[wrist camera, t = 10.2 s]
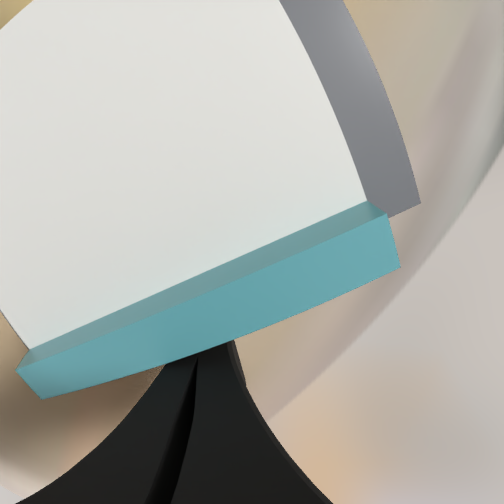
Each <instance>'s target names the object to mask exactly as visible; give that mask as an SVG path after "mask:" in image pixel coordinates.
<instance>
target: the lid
mask: <svg viewBox="0 0 504 504" xmlns="http://www.w3.org/2000/svg"><path fill="white" fill-rule="evenodd" d="M398 268H400V262H399V258H398V254H397V250H396V246H395V242H394V238H393V234H392V231H391V227H390V223H389V220H388V216H387V213H385V212H384V211H382V210H381V209H379V208H378V207H376V206H375V205H373V204H372V203H370V202H369V201H367V199H366V196H365V193H364V190H363V187H362V184H361V181H360V178H359V176H358V173H357V170H356V167H355V164H354V162H353V159H352V156H351V154H350V151H349V148H348V146H347V143H346V140H345V138H344V135H343V133H342V130H341V128H340V125H339V123H338V120H337V118H336V116H335V113H334V111H333V108H332V106H331V104H330V102H329V99H328V97H327V95H326V92H325V90H324V88H323V86H322V84H321V81H320V79H319V77H318V75H317V73H316V71H315V68H314V66H313V64H312V62H311V60H310V58H309V56H308V54H307V52H306V50H305V48H304V46H303V44H302V42H301V40H300V38H299V36H298V34H297V32H296V30H295V29H294V27H293V25H292V23H291V21H290V19H289V17H288V16H287V14H286V12H285V10H284V8H283V7H282V5H281V3H280V1H279V0H33V1H32V2H31V3H29V4H28V5H27V6H26V7H25V8H24V9H22V10H21V11H20V12H19V13H18V14H17V15H16V16H14V17H13V18H12V19H11V20H10V21H9V22H8V23H7V24H6V25H5V26H4V27H3V28H2V29H1V30H0V310H1V311H2V313H3V314H4V316H5V317H6V319H7V320H8V321H9V323H10V324H11V326H12V327H13V328H14V330H15V331H16V332H17V334H18V335H19V337H20V338H21V339H22V340H23V342H24V343H25V344H26V346H27V347H28V348H29V351H28V352H27V354H26V355H25V356H24V358H23V359H22V361H21V362H20V364H19V365H18V367H17V368H16V369H15V371H16V372H17V373H18V374H19V375H20V376H21V378H22V379H23V380H24V381H25V382H26V383H27V384H28V385H29V387H30V388H31V389H32V390H33V391H34V392H35V393H36V394H37V395H38V396H39V397H40V398H41V400H42V399H46V398H50V397H54V396H58V395H62V394H66V393H70V392H73V391H77V390H81V389H84V388H88V387H92V386H95V385H99V384H102V383H105V382H109V381H112V380H116V379H119V378H122V377H126V376H129V375H132V374H135V373H138V372H142V371H145V370H148V369H151V368H154V367H157V366H160V365H163V364H166V363H169V362H172V361H175V360H178V359H181V358H184V357H187V356H190V355H192V354H195V353H198V352H201V351H204V350H206V349H209V348H212V347H215V346H217V345H220V344H223V343H226V342H228V341H231V340H234V339H236V338H239V337H241V336H244V335H247V334H249V333H252V332H254V331H257V330H259V329H262V328H265V327H267V326H270V325H272V324H274V323H277V322H279V321H282V320H284V319H287V318H289V317H292V316H294V315H296V314H299V313H301V312H304V311H306V310H308V309H311V308H313V307H315V306H318V305H320V304H322V303H324V302H327V301H329V300H331V299H334V298H336V297H338V296H340V295H342V294H345V293H347V292H349V291H351V290H354V289H356V288H358V287H360V286H362V285H364V284H366V283H369V282H371V281H373V280H375V279H377V278H379V277H381V276H383V275H385V274H388V273H390V272H392V271H394V270H396V269H398Z"/></svg>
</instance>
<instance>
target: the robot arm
mask: <svg viewBox="0 0 504 504" xmlns="http://www.w3.org/2000/svg"><path fill="white" fill-rule="evenodd" d="M16 504H333V503H332V502H331V501H330V500H329V499H328V498H327V497H326V496H325V495H324V494H323V493H322V492H321V491H320V490H319V489H318V488H317V487H316V486H315V485H314V484H313V483H312V482H311V480H310V479H309V478H308V477H307V476H306V475H305V473H304V472H303V471H302V470H301V469H300V468H299V467H298V465H297V464H296V463H295V462H294V461H293V460H292V458H291V457H290V456H289V454H288V453H287V452H286V451H285V449H284V448H283V447H282V445H281V444H280V442H279V441H278V440H277V438H276V437H275V435H274V434H273V433H272V431H271V429H270V428H269V426H268V425H267V423H266V422H265V420H264V418H263V417H262V415H261V413H260V412H259V410H258V408H257V407H256V405H255V403H254V401H253V399H252V397H251V395H250V393H249V391H248V389H247V387H246V381H245V377H244V373H243V370H242V366H241V363H240V359H239V356H238V352H237V349H236V345H235V341H234V340H231V341H228V342H226V343H223V344H220V345H217V346H215V347H212V348H209V349H206V350H204V351H201V352H198V353H195V354H192V355H190V356H187V357H184V358H181V359H178V360H175V361H172V362H169V363H166V365H165V366H164V367H163V369H162V370H161V372H160V373H159V375H158V376H157V377H156V379H155V380H154V381H153V383H152V384H151V386H150V387H149V388H148V390H147V391H146V392H145V394H144V395H143V396H142V397H141V399H140V400H139V401H138V402H137V404H136V405H135V406H134V407H133V409H132V410H131V411H130V412H129V414H128V415H127V416H126V417H125V418H124V419H123V421H122V422H121V423H120V424H119V425H118V426H117V427H116V428H115V429H114V430H113V431H112V432H111V433H110V434H109V435H108V436H107V437H106V438H105V439H104V440H103V441H102V442H101V443H100V444H99V445H98V446H97V447H96V448H95V449H94V450H93V451H91V452H90V453H89V454H88V455H87V456H86V457H84V458H83V459H82V460H81V461H80V462H78V463H77V464H76V465H75V466H74V467H72V468H71V469H70V470H69V471H67V472H66V473H65V474H63V475H62V476H61V477H59V478H58V479H56V480H55V481H53V482H52V483H50V484H49V485H47V486H46V487H44V488H43V489H41V490H40V491H38V492H36V493H35V494H33V495H31V496H29V497H28V498H26V499H24V500H22V501H20V502H18V503H16Z"/></svg>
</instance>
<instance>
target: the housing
mask: <svg viewBox="0 0 504 504" xmlns="http://www.w3.org/2000/svg"><path fill="white" fill-rule="evenodd" d="M32 1H33V0H0V30H1V29H2V28H3V27H4V26H5V25H6V24H7V23H8V22H9V21H10V20H11V19H12V18H13V17H14V16H16V15H17V14H18V13H19V12H20V11H21V10H22V9H24V8H25V7H26V6H27V5H28V4H29V3H31V2H32ZM279 1H280V3H281V5H282V7H283V8H284V10H285V12H286V14H287V16H288V17H289V19H290V21H291V23H292V25H293V27H294V29H295V30H296V32H297V34H298V36H299V38H300V40H301V42H302V44H303V46H304V48H305V50H306V52H307V54H308V56H309V58H310V60H311V62H312V64H313V66H314V68H315V71H316V73H317V75H318V77H319V79H320V81H321V84H322V86H323V88H324V90H325V92H326V95H327V97H328V99H329V102H330V104H331V106H332V108H333V111H334V113H335V116H336V118H337V120H338V123H339V125H340V128H341V130H342V133H343V135H344V138H345V140H346V143H347V146H348V148H349V151H350V154H351V156H352V159H353V162H354V164H355V167H356V170H357V173H358V176H359V178H360V181H361V184H362V187H363V190H364V193H365V196H366V199H367V201H369V202H370V203H372V204H373V205H375V206H376V207H378V208H379V209H381V210H382V211H384V212H385V213H387V216H388V218H390V217H392V216H394V215H396V214H399V213H401V212H403V211H405V210H407V209H409V208H412V207H414V206H416V205H418V204H420V203H421V202H420V198H419V194H418V190H417V186H416V182H415V178H414V175H413V171H412V168H411V164H410V161H409V157H408V154H407V151H406V148H405V144H404V141H403V138H402V135H401V132H400V129H399V126H398V123H397V121H396V118H395V115H394V112H393V109H392V107H391V104H390V101H389V99H388V96H387V94H386V91H385V89H384V86H383V84H382V81H381V79H380V76H379V74H378V72H377V69H376V67H375V65H374V62H373V60H372V58H371V56H370V54H369V51H368V49H367V47H366V45H365V43H364V41H363V39H362V37H361V35H360V33H359V31H358V29H357V27H356V25H355V23H354V21H353V19H352V17H351V15H350V13H349V11H348V9H347V8H346V6H345V4H344V2H343V0H279ZM0 311H1V310H0ZM1 313H2V311H1ZM2 314H3V313H2ZM3 316H4V314H3ZM4 317H5V316H4ZM5 319H6V317H5ZM6 320H7V319H6ZM7 321H8V320H7ZM8 323H9V321H8ZM9 324H10V323H9ZM10 326H11V324H10ZM11 327H12V326H11ZM12 328H13V327H12ZM13 330H14V328H13ZM14 331H15V330H14ZM15 332H16V331H15ZM16 334H17V332H16ZM17 335H18V334H17ZM18 336H19V335H18ZM19 338H20V337H19ZM20 339H21V338H20ZM21 340H22V339H21ZM22 342H23V340H22ZM23 343H24V342H23ZM24 344H25V343H24ZM25 346H26V344H25ZM26 347H27V346H26ZM27 348H28V347H27ZM28 349H29V348H28Z"/></svg>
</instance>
